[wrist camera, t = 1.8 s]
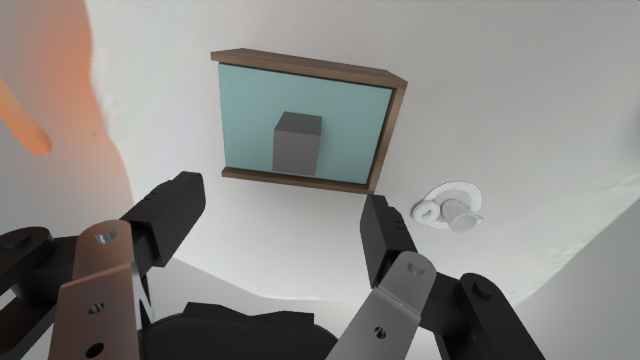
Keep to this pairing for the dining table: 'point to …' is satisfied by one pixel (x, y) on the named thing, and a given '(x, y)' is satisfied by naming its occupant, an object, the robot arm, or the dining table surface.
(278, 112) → the cover plate
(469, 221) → the teacup and saucer
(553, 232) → the dining table surface
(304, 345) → the robot arm
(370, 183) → the box
